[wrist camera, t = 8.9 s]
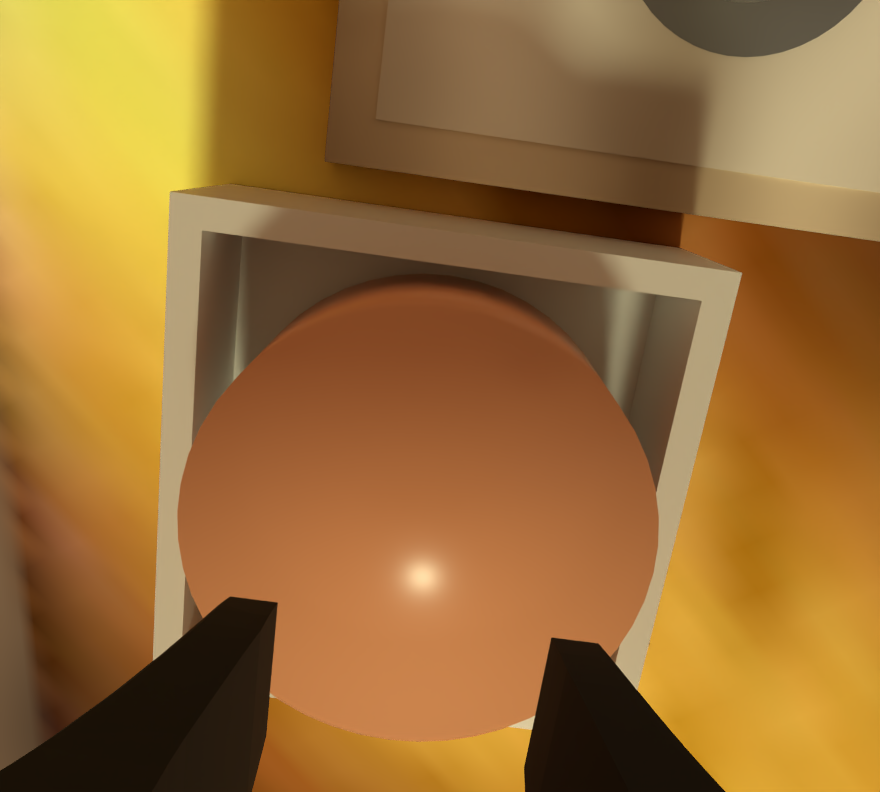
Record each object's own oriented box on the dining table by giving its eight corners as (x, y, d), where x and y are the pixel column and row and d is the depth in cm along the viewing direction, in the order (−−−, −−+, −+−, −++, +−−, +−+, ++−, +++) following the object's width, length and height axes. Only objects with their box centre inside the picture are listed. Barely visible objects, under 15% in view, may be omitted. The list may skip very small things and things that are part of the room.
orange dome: (655, 304, 16) (709, 343, 13) (577, 655, 18) (606, 766, 15) (243, 246, 16) (187, 271, 12) (220, 609, 18) (168, 712, 15)
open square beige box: (680, 248, 18) (741, 272, 14) (593, 634, 21) (624, 741, 17) (229, 183, 18) (170, 191, 14) (206, 585, 21) (152, 682, 17)
